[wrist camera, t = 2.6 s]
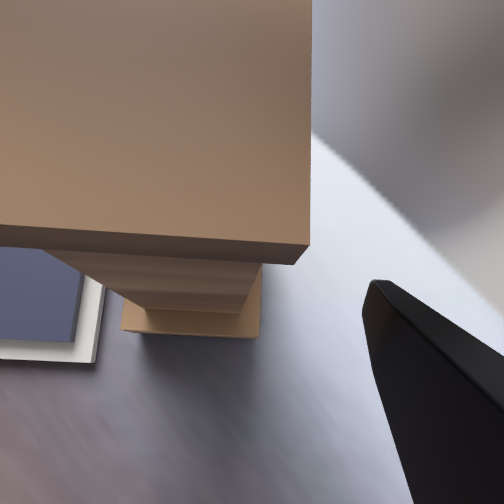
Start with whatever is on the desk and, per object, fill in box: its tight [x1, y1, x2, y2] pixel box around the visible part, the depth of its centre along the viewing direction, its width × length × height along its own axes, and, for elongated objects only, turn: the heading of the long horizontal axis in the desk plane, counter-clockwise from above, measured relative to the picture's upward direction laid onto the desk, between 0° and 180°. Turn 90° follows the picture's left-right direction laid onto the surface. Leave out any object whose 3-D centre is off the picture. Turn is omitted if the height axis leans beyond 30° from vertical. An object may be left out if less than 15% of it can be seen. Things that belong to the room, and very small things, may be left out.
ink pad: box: [0, 247, 106, 363], centre depth 17 cm, size 9×9×1 cm
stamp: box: [0, 0, 312, 339], centre depth 11 cm, size 5×5×14 cm
